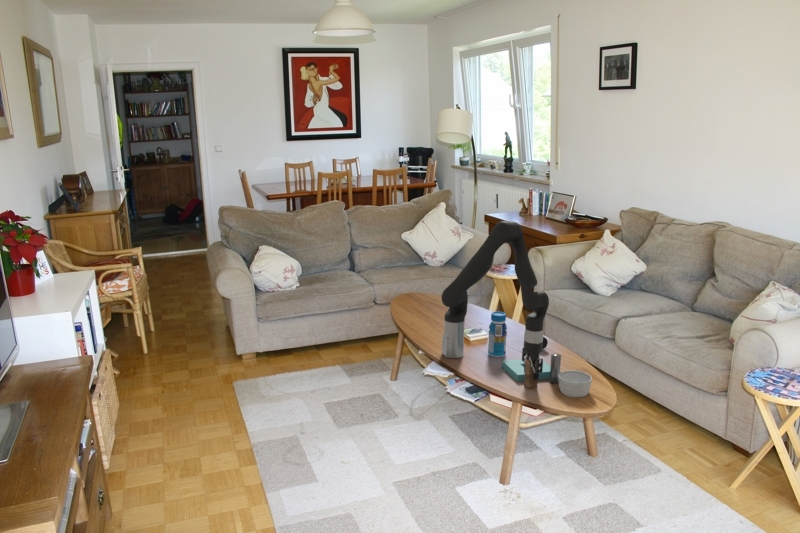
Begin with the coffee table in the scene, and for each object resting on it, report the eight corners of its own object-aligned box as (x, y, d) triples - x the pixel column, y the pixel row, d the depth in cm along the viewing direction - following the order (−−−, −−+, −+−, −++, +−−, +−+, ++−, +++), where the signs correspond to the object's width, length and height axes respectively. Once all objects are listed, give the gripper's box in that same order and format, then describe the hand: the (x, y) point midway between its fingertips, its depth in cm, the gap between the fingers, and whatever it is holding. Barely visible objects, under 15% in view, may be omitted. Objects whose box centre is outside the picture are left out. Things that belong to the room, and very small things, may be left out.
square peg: (528, 389, 275) (529, 361, 272) (523, 385, 278) (525, 358, 275) (537, 388, 276) (538, 361, 273) (532, 384, 279) (534, 357, 276)
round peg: (552, 384, 280) (554, 357, 277) (547, 380, 283) (549, 353, 280) (560, 383, 281) (562, 356, 278) (556, 379, 284) (558, 353, 281)
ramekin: (555, 396, 269) (556, 379, 267) (559, 383, 281) (560, 367, 279) (589, 401, 264) (590, 385, 263) (592, 388, 276) (593, 372, 274)
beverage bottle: (484, 354, 311) (485, 313, 307) (494, 349, 317) (496, 309, 313) (499, 359, 306) (501, 317, 301) (509, 354, 312) (511, 313, 307)
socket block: (517, 381, 282) (517, 375, 281) (502, 367, 297) (502, 360, 296) (556, 377, 286) (556, 370, 286) (538, 363, 301) (539, 357, 301)
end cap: (547, 350, 318) (548, 336, 316) (533, 351, 316) (534, 338, 314) (537, 343, 327) (538, 330, 325) (524, 344, 325) (524, 331, 323)
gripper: (517, 334, 277) (515, 371, 282) (533, 346, 264) (530, 384, 268) (533, 332, 279) (531, 369, 283) (550, 344, 266) (547, 382, 270)
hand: (531, 376), depth 276 cm, fingers open, 7 cm apart
